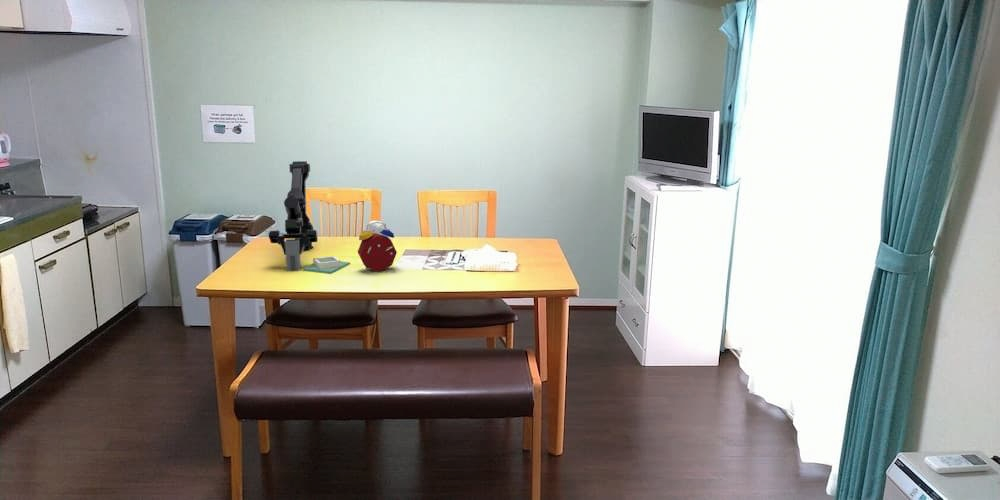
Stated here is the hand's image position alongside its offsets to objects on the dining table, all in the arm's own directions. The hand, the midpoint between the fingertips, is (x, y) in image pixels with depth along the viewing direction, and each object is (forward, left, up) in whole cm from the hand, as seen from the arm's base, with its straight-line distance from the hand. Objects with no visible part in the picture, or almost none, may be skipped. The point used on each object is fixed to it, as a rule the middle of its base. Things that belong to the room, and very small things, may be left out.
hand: (292, 254), depth 291 cm
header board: (+10, +8, -7) cm, 15 cm away
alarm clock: (+32, +11, -7) cm, 35 cm away
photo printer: (+14, +45, -7) cm, 48 cm away
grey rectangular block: (-1, +1, -7) cm, 7 cm away
